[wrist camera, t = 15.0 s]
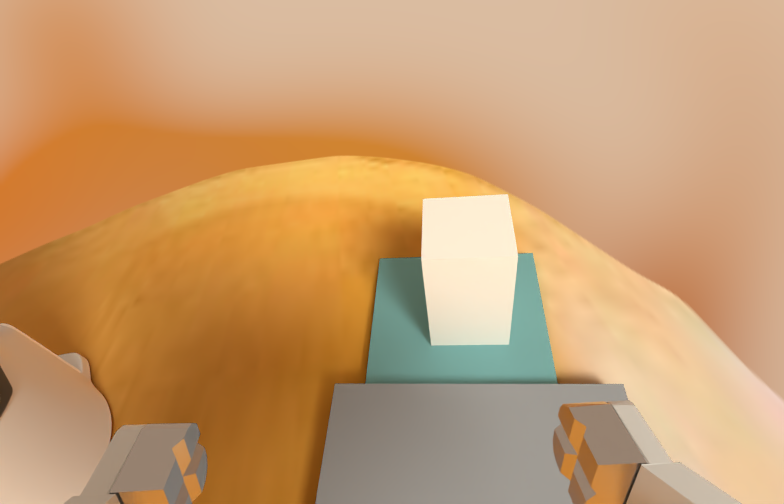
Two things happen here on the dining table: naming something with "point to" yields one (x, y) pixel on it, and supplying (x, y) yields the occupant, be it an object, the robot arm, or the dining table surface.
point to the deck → (448, 443)
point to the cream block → (469, 269)
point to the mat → (453, 362)
